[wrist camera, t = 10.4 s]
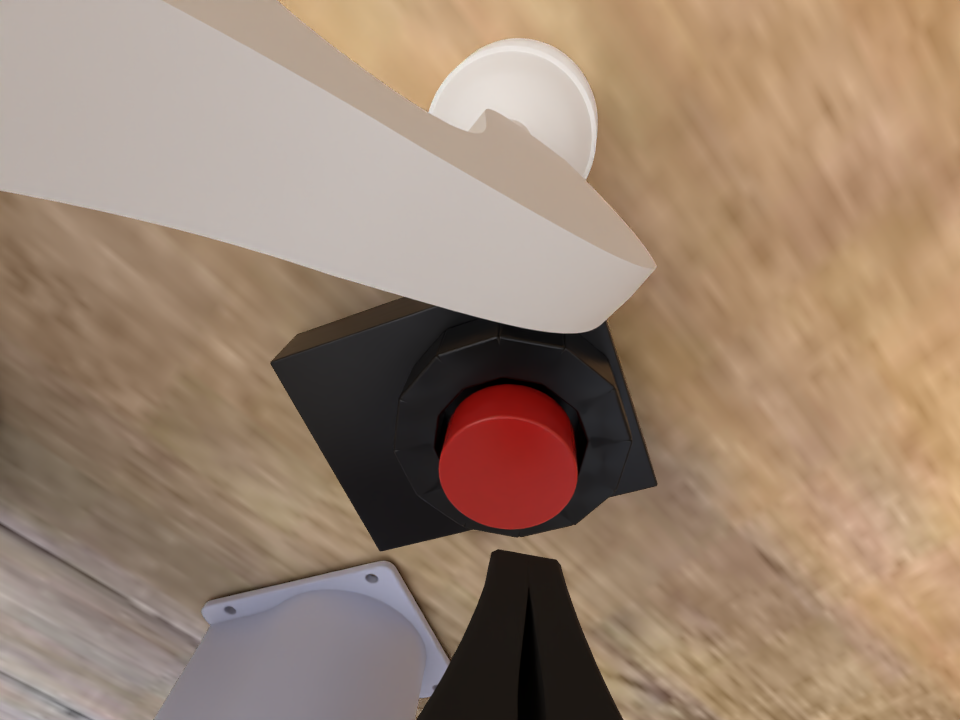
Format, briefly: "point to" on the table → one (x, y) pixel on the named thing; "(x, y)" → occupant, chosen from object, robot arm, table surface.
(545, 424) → the red button
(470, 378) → the button box
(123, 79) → the decorative finial
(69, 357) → the table surface
